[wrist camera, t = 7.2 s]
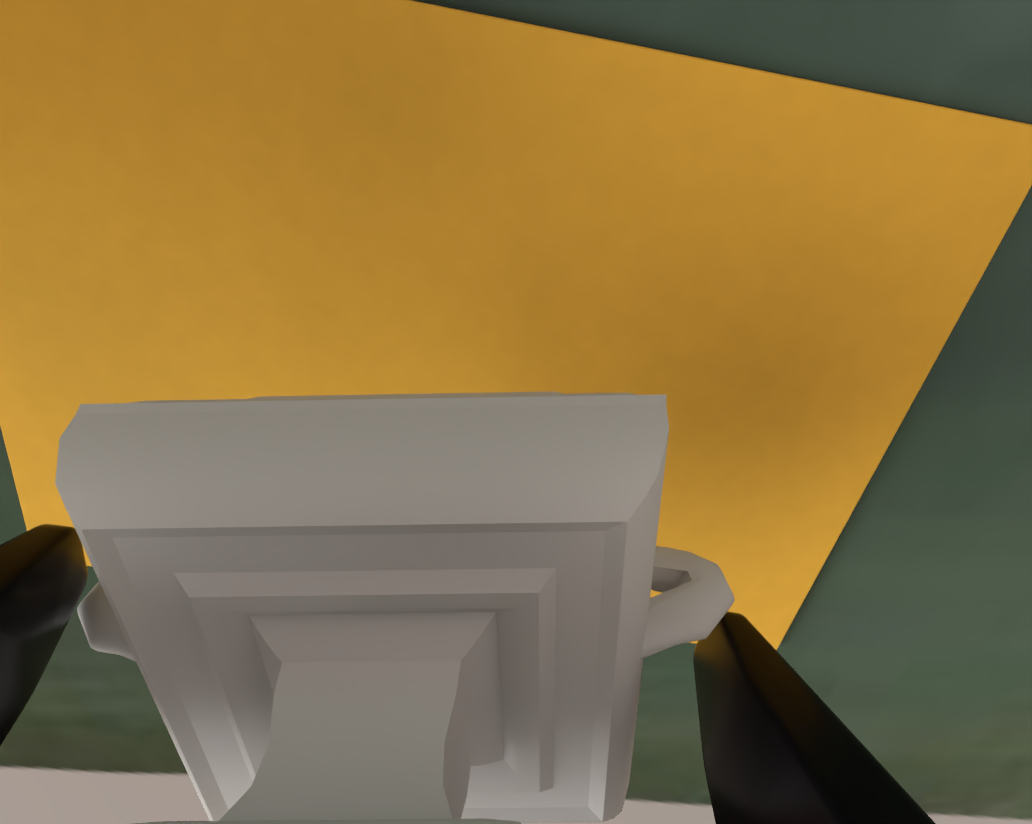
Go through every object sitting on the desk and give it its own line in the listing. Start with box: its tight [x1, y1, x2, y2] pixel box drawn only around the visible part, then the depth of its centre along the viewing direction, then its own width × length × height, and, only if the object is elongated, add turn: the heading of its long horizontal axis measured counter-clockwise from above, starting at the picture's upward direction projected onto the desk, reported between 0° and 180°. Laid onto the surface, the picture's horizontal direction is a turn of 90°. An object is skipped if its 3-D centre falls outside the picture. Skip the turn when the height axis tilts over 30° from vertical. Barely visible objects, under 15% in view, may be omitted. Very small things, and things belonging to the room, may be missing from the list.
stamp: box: [55, 391, 735, 824], centre depth 8 cm, size 9×7×8 cm
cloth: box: [0, 0, 1032, 650], centre depth 15 cm, size 20×14×1 cm
